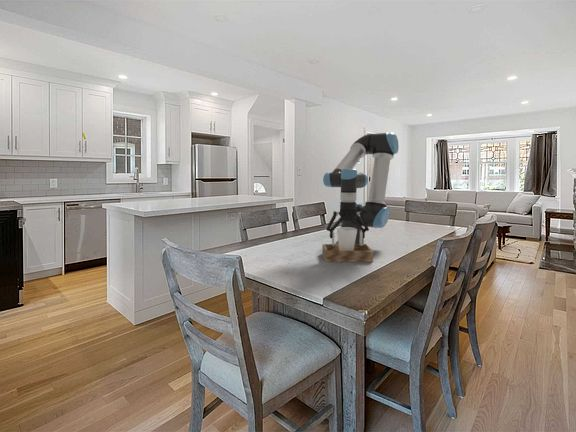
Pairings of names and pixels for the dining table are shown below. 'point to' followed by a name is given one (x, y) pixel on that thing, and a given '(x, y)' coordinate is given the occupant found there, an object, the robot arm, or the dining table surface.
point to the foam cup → (346, 238)
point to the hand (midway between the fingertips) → (346, 245)
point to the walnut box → (347, 253)
